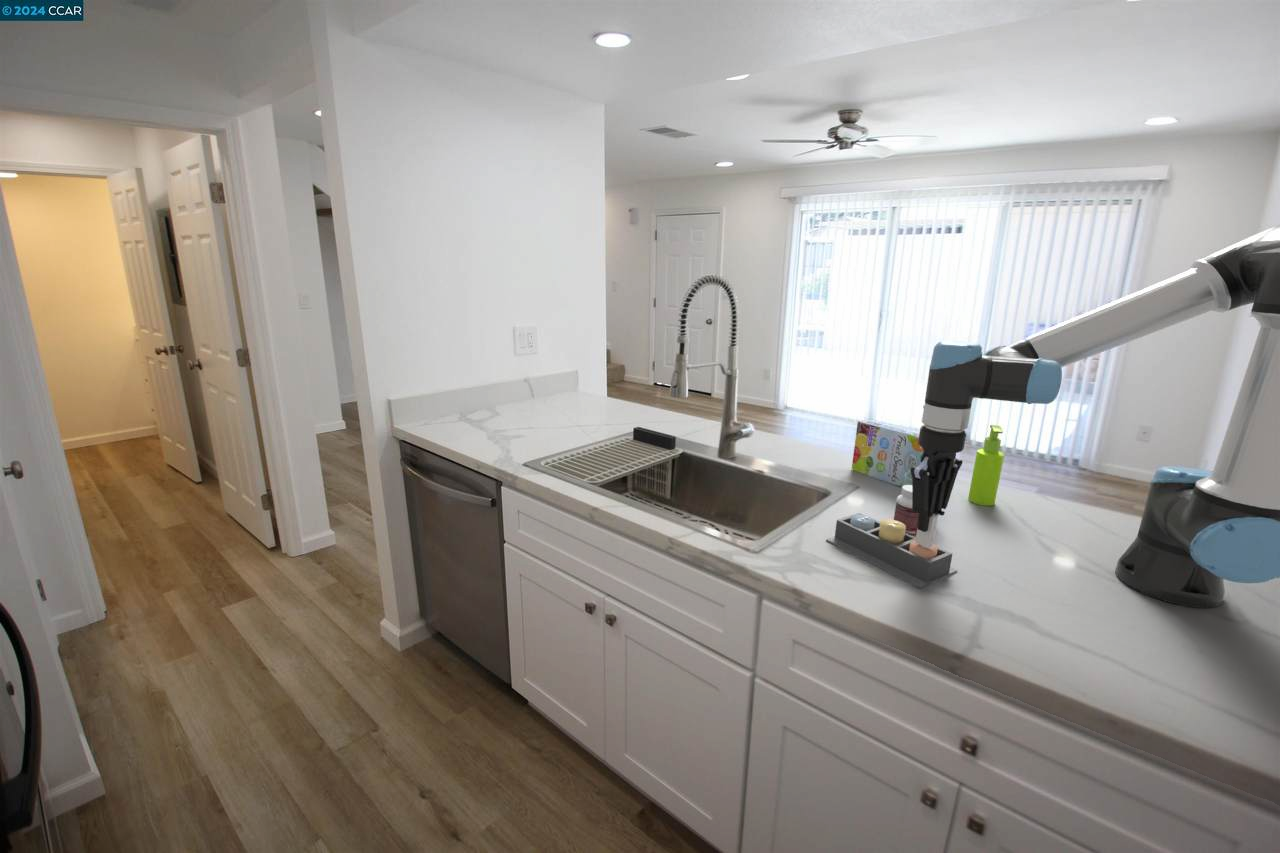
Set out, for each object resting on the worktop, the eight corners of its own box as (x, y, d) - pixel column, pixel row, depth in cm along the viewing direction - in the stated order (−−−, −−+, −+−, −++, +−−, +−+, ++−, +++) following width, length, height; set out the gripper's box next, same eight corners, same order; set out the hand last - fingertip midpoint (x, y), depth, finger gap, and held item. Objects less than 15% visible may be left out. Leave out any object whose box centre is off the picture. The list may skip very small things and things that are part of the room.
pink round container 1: (939, 569, 112) (942, 547, 110) (924, 576, 109) (928, 553, 108) (916, 559, 116) (919, 537, 114) (901, 565, 113) (905, 543, 112)
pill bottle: (924, 543, 124) (932, 495, 121) (893, 538, 126) (900, 492, 123) (919, 531, 130) (927, 485, 127) (890, 527, 131) (896, 482, 128)
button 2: (907, 546, 117) (911, 525, 116) (892, 552, 114) (896, 530, 113) (887, 537, 121) (890, 516, 119) (872, 542, 118) (875, 521, 117)
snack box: (930, 489, 154) (939, 436, 150) (918, 494, 151) (927, 439, 147) (861, 466, 171) (868, 418, 167) (849, 470, 168) (856, 420, 164)
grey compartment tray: (957, 572, 112) (960, 551, 111) (920, 588, 106) (923, 566, 105) (862, 528, 130) (864, 510, 129) (826, 540, 124) (828, 521, 123)
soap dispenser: (970, 504, 145) (984, 428, 139) (966, 495, 151) (980, 421, 145) (997, 508, 142) (1012, 431, 137) (992, 498, 149) (1007, 424, 143)
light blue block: (877, 540, 123) (879, 520, 122) (862, 545, 121) (865, 525, 119) (858, 531, 127) (860, 512, 126) (843, 536, 125) (846, 516, 123)
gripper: (944, 418, 111) (925, 529, 117) (902, 426, 104) (885, 544, 111) (984, 427, 105) (961, 544, 111) (942, 437, 98) (921, 561, 105)
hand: (923, 544), depth 111 cm, fingers closed
